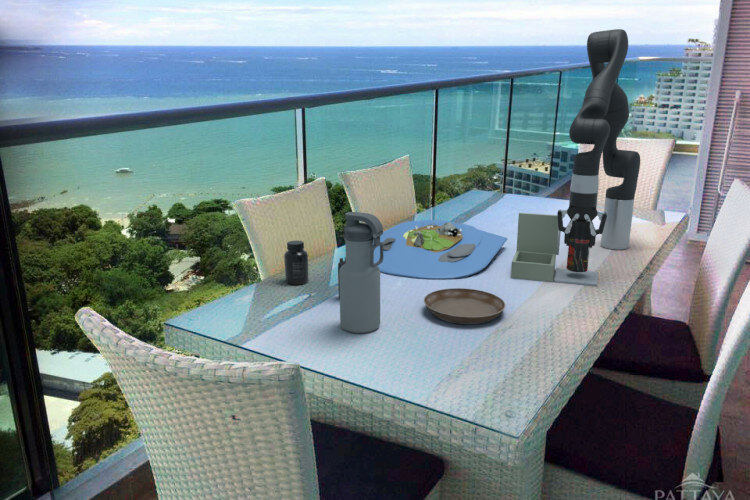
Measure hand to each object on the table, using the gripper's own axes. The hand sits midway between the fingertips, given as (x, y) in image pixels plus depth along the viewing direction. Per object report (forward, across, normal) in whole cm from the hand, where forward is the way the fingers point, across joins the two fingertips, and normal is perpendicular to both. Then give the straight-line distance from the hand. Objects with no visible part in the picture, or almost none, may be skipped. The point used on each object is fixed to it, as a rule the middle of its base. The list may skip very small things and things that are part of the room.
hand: (579, 246), depth 186 cm
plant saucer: (+10, +26, +37) cm, 47 cm away
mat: (+10, 0, 0) cm, 10 cm away
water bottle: (+10, +48, +54) cm, 73 cm away
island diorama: (+10, +47, -7) cm, 48 cm away
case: (+10, +12, 0) cm, 16 cm away
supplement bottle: (+10, +77, +29) cm, 83 cm away
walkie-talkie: (+10, +58, +37) cm, 70 cm away
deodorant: (+7, 0, 0) cm, 7 cm away
